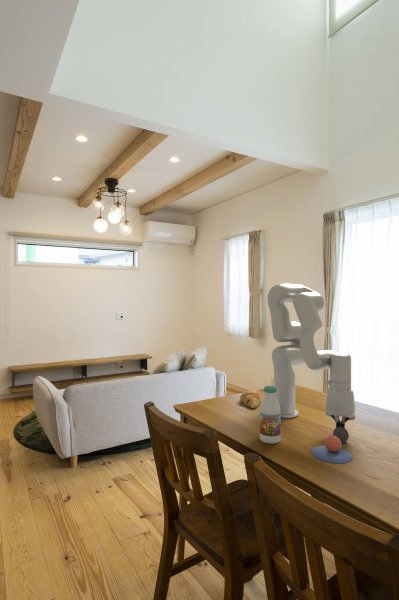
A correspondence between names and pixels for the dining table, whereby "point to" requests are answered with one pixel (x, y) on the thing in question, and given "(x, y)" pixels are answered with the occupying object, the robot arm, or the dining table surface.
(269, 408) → the milk bottle
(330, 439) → the red ball
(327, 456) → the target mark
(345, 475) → the dining table surface
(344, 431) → the dark grey ball
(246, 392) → the croissant
